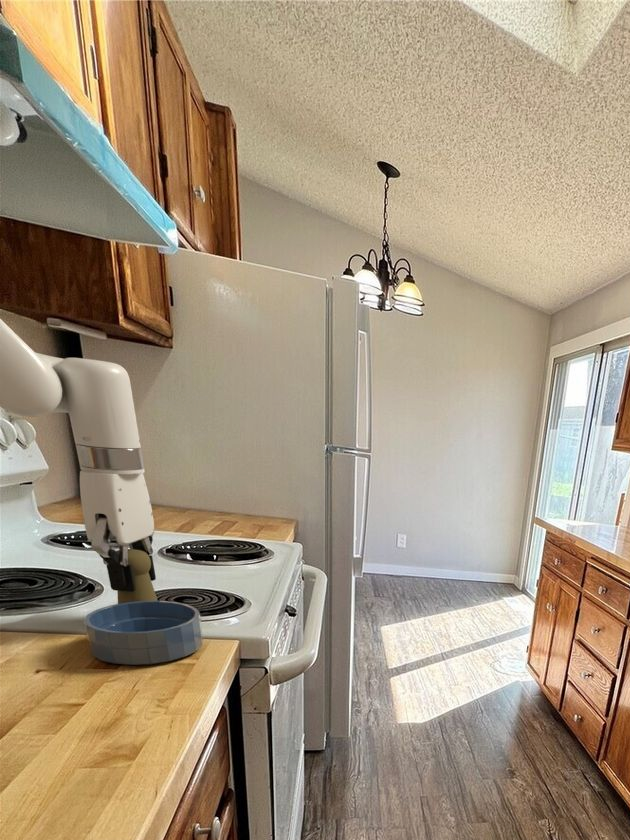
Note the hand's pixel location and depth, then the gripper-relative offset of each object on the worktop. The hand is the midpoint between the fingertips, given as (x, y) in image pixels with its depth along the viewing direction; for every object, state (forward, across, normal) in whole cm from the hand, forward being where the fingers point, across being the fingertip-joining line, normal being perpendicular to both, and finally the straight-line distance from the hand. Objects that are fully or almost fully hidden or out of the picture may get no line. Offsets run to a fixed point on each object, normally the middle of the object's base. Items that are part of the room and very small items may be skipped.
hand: (134, 583), depth 86 cm
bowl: (+6, +10, +6) cm, 13 cm away
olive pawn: (+6, 0, 0) cm, 6 cm away
